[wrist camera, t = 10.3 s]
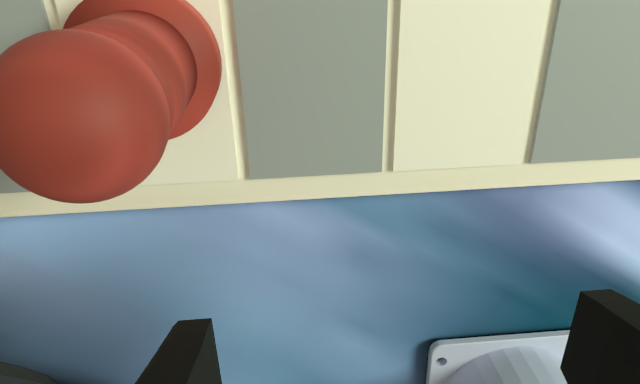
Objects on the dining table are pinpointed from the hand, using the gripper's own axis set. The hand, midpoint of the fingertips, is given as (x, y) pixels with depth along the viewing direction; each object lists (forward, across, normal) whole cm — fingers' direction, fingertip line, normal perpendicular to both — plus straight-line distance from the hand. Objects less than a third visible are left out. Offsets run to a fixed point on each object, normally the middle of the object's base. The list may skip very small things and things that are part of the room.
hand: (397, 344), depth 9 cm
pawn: (+8, +6, -4) cm, 11 cm away
